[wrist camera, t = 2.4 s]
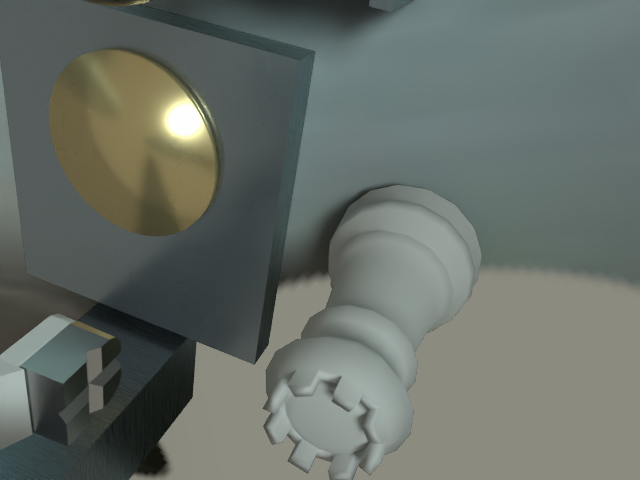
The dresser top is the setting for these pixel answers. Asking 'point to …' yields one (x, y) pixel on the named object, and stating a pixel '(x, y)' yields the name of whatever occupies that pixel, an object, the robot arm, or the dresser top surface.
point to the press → (150, 199)
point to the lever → (118, 2)
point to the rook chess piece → (371, 329)
